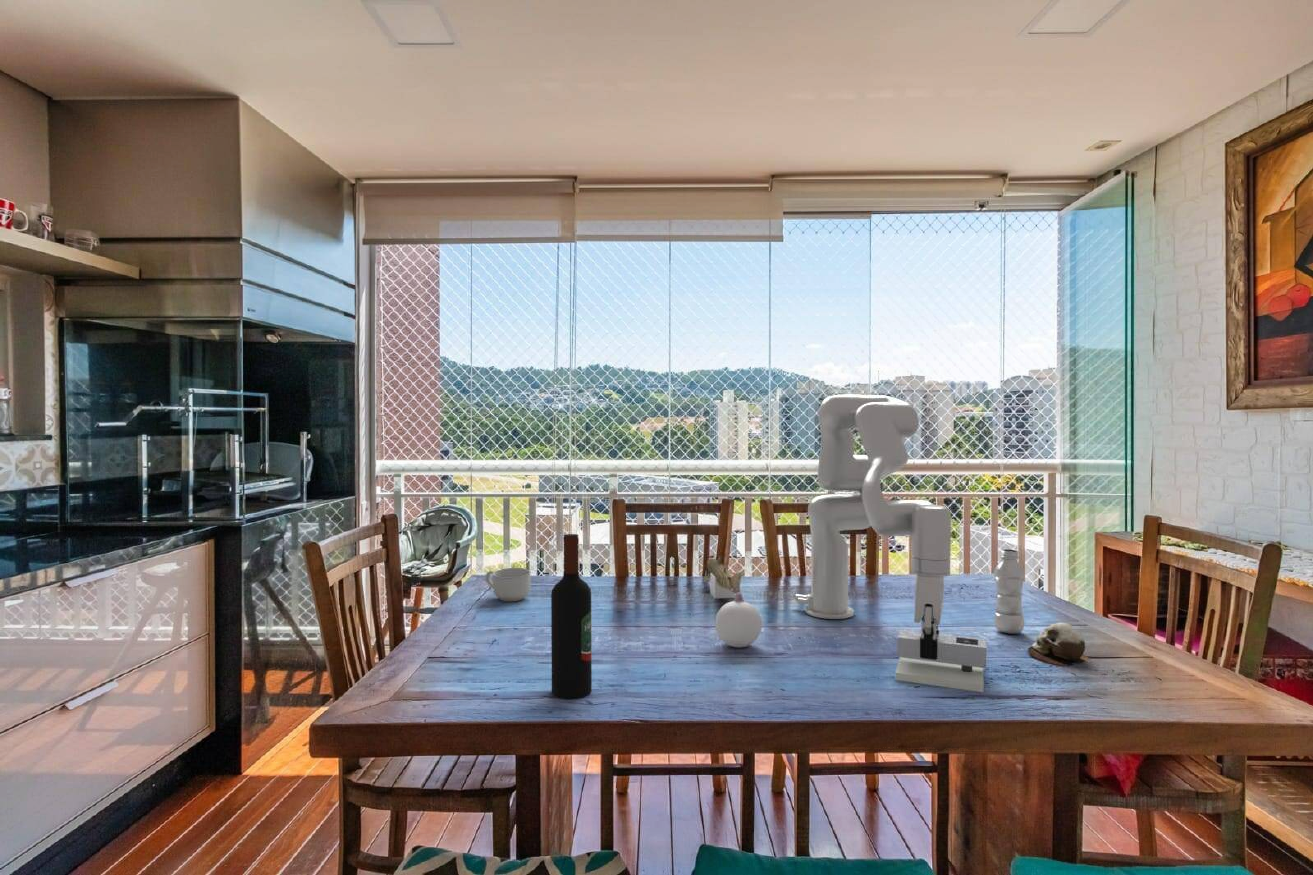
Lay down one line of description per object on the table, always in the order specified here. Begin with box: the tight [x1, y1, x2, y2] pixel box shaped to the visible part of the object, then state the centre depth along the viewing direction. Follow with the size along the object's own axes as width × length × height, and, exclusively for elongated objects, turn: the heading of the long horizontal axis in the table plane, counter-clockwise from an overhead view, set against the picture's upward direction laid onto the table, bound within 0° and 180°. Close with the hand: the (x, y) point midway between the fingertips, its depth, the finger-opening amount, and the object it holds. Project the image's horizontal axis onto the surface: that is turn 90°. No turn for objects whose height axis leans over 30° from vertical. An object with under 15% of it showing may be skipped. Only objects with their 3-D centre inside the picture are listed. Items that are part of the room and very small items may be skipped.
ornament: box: [714, 593, 763, 648], centre depth 165 cm, size 10×10×12 cm
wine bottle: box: [550, 533, 593, 700], centre depth 138 cm, size 8×8×30 cm
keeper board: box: [894, 641, 985, 693], centre depth 147 cm, size 16×14×8 cm
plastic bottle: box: [993, 548, 1025, 635], centre depth 175 cm, size 6×7×20 cm
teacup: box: [485, 567, 532, 603], centre depth 209 cm, size 14×11×8 cm
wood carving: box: [702, 556, 743, 599], centre depth 210 cm, size 9×35×11 cm, turn 8°
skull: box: [1027, 622, 1092, 668], centre depth 158 cm, size 12×10×10 cm
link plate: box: [896, 629, 987, 669], centre depth 147 cm, size 16×6×4 cm, turn 66°
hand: (929, 652), depth 148 cm, fingers closed on link plate, 6 cm apart
